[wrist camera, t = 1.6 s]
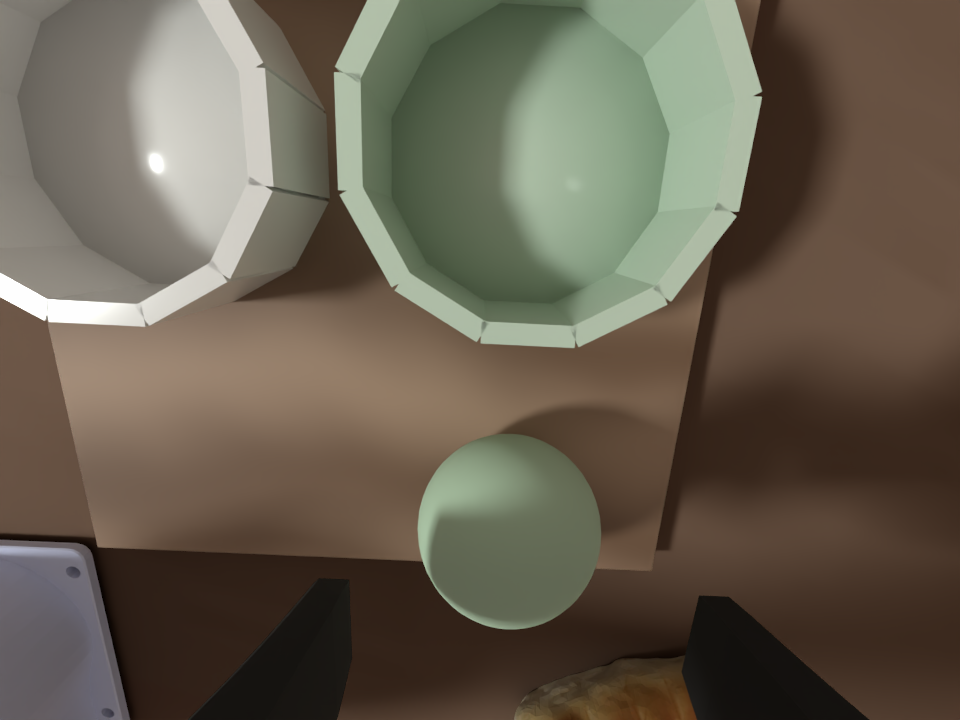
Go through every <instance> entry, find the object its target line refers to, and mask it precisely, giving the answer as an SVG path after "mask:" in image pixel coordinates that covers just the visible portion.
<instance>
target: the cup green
mask: <svg viewBox="0 0 960 720" xmlns="http://www.w3.org/2000/svg"><path fill="white" fill-rule="evenodd" d="M335 67H336V68H337V69H338V71H339V72H334V90H335V118H336V146H337V175H338V190H340V191H343V192H344V193H342V194H340V197H341V199H342V200H343V202H344V204H345V206H346V207H347V209H348V211H349V213H350V215H351V216H352V218H353V220H354V222H355V223H356V225H357V227H358V229H359V231H360V232H361V234H362V236H363V238H364V239H365V241H366V243H367V245H368V247H369V248H370V250H371V252H372V254H373V255H374V257H375V259H376V261H377V262H378V264H379V266H380V268H381V270H382V271H383V273H384V275H385V277H386V278H387V280H388V282H389V284H390V286H391V287H393V286H395V285H397V284H398V286H397V288H396V289H395V291H396V292H398V293H399V294H401V295H402V296H404V297H406V298H407V299H409V300H410V301H412V302H413V303H415V304H417V305H418V306H420V307H421V308H423V309H425V310H426V311H428V312H429V313H431V314H433V315H434V316H436V317H437V318H439V319H441V320H442V321H444V322H445V323H447V324H448V325H450V326H452V327H453V328H455V329H456V330H458V331H460V332H461V333H463V334H464V335H466V336H468V337H469V338H471V339H472V340H474V341H476V342H477V341H478V339H479V338H480V336H481V343H482V344H502V345H522V346H542V347H562V348H575V343H576V345H577V346H578V347H580V346H582V345H584V344H586V343H589V342H591V341H593V340H595V339H597V338H599V337H601V336H603V335H605V334H607V333H609V332H611V331H614V330H616V329H618V328H620V327H622V326H624V325H626V324H628V323H630V322H632V321H634V320H637V319H639V318H641V317H643V316H645V315H647V314H649V313H651V312H653V311H655V310H657V309H659V308H662V307H664V306H666V305H667V302H666V300H668V301H670V302H671V301H672V300H673V299H674V297H675V296H676V295H677V293H678V292H679V291H680V289H681V288H682V287H683V286H684V284H685V283H686V282H687V280H688V279H689V278H690V276H691V275H692V274H693V273H694V271H695V270H696V269H697V267H698V266H699V265H700V263H701V262H702V261H703V260H704V258H705V257H706V256H707V254H708V253H709V252H710V251H711V249H712V248H713V247H714V245H715V244H716V243H717V241H718V240H719V239H720V238H721V236H722V235H723V234H724V232H725V231H726V230H727V228H728V227H729V226H730V225H731V223H732V222H733V221H734V219H735V218H736V217H737V216H736V215H734V214H733V213H732V212H739V209H740V204H741V199H742V194H743V189H744V184H745V179H746V174H747V169H748V164H749V159H750V155H751V150H752V145H753V140H754V135H755V130H756V125H757V120H758V115H759V110H760V105H761V100H762V97H757V96H754V95H756V94H758V93H760V92H762V90H761V86H760V83H759V80H758V76H757V73H756V69H755V66H754V63H753V59H752V56H751V53H750V49H749V46H748V43H747V39H746V36H745V32H744V29H743V26H742V22H741V19H740V16H739V12H738V9H737V5H736V2H735V0H367V2H366V4H365V6H364V8H363V10H362V12H361V14H360V16H359V18H358V20H357V22H356V24H355V26H354V29H353V31H352V33H351V35H350V37H349V39H348V41H347V43H346V45H345V47H344V49H343V51H342V53H341V55H340V57H339V59H338V61H337V63H336V66H335Z"/></svg>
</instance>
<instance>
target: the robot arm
mask: <svg viewBox="0 0 960 720" xmlns="http://www.w3.org/2000/svg"><path fill="white" fill-rule="evenodd" d="M351 660H352V644H351V617H350V591H349V580H344V579H322V578H319V579H318V580H317V581H316V582H314V583H313V585H312V586H311V587H310V588H309V589H308V591H307V592H306V593H305V594H304V595H303V596H302V598H301V599H300V600H299V601H298V602H297V603H296V605H295V606H294V607H293V608H292V609H291V610H290V612H289V613H288V614H287V615H286V616H285V617H284V619H283V620H282V621H281V622H280V623H279V624H278V625H277V626H276V628H275V629H274V630H273V631H272V632H271V633H270V634H269V636H268V637H267V638H266V639H265V640H264V641H263V642H262V643H261V644H260V645H259V646H258V648H257V649H256V650H255V651H254V652H253V653H252V654H251V655H250V656H249V657H248V658H247V659H246V661H245V662H244V663H243V664H242V665H241V666H240V667H239V668H238V669H237V670H236V671H235V672H234V673H233V675H232V676H231V677H230V678H229V679H228V680H227V681H226V682H225V683H224V684H223V685H222V686H221V687H220V688H219V689H218V690H217V691H216V692H215V693H214V694H213V695H212V696H211V697H210V698H209V699H208V700H207V701H206V702H205V703H204V704H203V705H202V706H201V707H200V708H199V709H198V710H197V711H196V712H195V713H194V714H193V715H192V716H191V717H190V718H189V719H188V720H337V717H338V714H339V710H340V706H341V702H342V698H343V694H344V690H345V685H346V681H347V677H348V672H349V668H350V664H351ZM681 672H682V675H683V678H684V682H685V685H686V688H687V691H688V694H689V697H690V701H691V704H692V707H693V710H694V712H695V715H696V718H697V720H869V719H868V718H867V717H865V716H864V715H863V714H862V713H861V712H859V711H858V710H857V709H856V708H855V707H854V706H852V705H851V704H850V703H849V702H848V701H847V700H845V699H844V698H843V697H842V696H841V695H840V694H838V693H837V692H836V691H835V690H834V689H833V688H832V687H830V686H829V685H828V684H827V683H826V682H825V681H824V680H822V679H821V678H820V677H819V676H818V675H817V674H816V673H814V672H813V671H812V670H811V669H810V668H809V667H808V666H806V665H805V664H804V663H803V662H802V661H801V660H800V659H799V658H797V657H796V656H795V655H794V654H793V653H792V652H791V651H790V650H789V649H787V648H786V647H785V646H784V645H783V644H782V643H781V642H780V641H778V640H777V639H776V638H775V637H774V636H773V635H772V634H771V633H769V632H768V631H767V630H766V629H765V628H764V627H763V626H762V625H761V624H759V623H758V622H757V621H756V620H755V619H754V618H753V617H752V616H750V615H749V614H748V613H747V612H746V611H745V610H744V609H742V608H741V607H740V606H739V605H738V604H736V603H735V602H734V601H733V600H732V599H731V598H729V597H720V596H699V598H698V603H697V607H696V611H695V615H694V620H693V624H692V628H691V633H690V637H689V641H688V645H687V650H686V654H685V658H684V663H683V667H682V671H681ZM0 720H130V718H129V713H128V709H127V704H126V700H125V696H124V691H123V687H122V683H121V678H120V674H119V669H118V665H117V661H116V656H115V652H114V648H113V643H112V639H111V635H110V630H109V626H108V621H107V617H106V613H105V608H104V604H103V600H102V595H101V591H100V587H99V582H98V578H97V573H96V569H95V565H94V560H93V556H92V553H91V551H90V549H89V548H88V547H87V546H85V545H83V544H79V543H64V542H40V541H17V540H0Z"/></svg>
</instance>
